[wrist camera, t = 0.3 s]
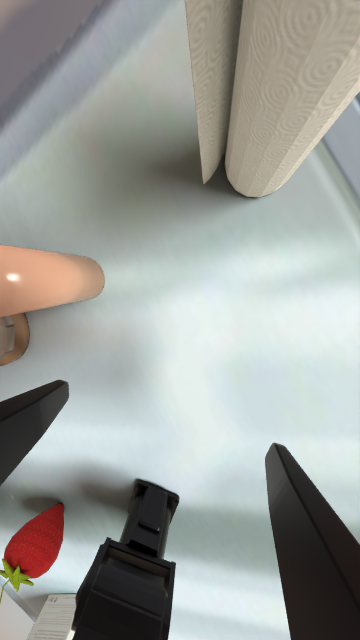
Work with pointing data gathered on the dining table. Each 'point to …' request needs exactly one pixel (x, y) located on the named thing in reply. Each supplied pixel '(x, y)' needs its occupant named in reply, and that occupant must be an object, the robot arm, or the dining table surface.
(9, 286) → the peach rounded knob
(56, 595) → the supplement box
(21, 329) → the flange seat
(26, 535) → the strawberry
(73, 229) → the dining table surface
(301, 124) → the paper towel roll
